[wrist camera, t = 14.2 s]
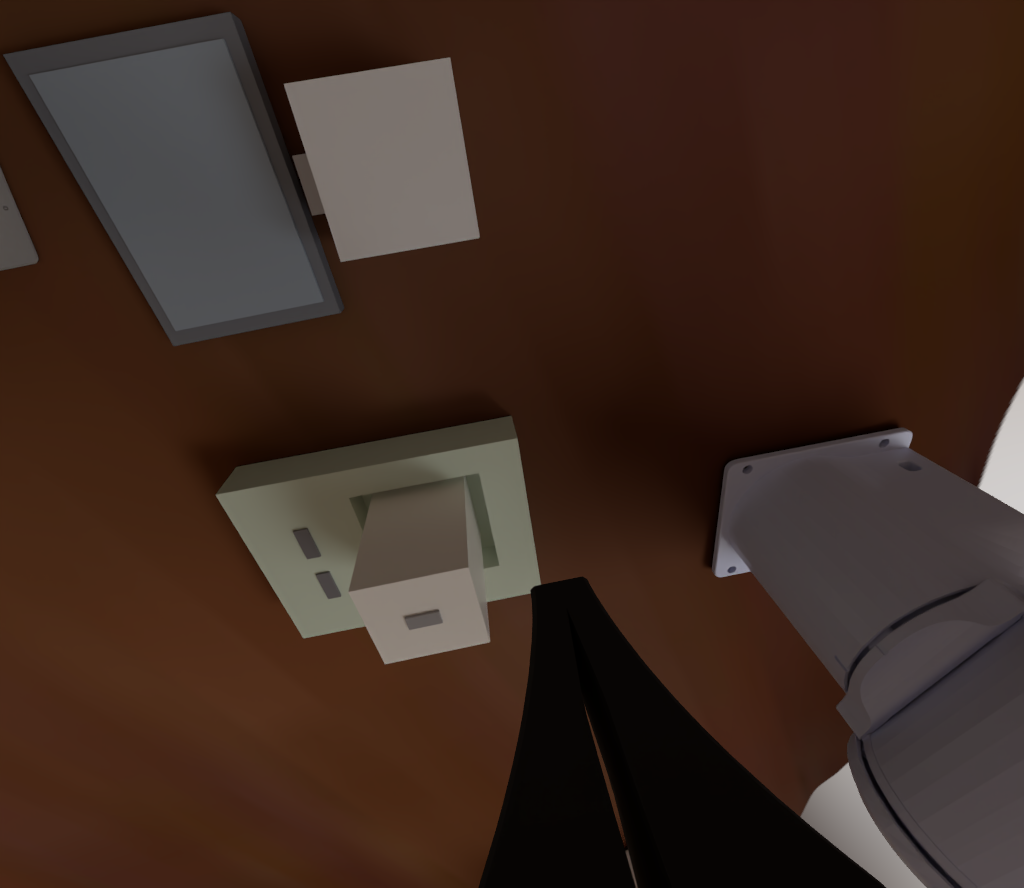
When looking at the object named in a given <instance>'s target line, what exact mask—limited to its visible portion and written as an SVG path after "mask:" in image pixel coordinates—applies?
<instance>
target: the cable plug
mask: <svg viewBox="0 0 1024 888" xmlns="http://www.w3.org/2000/svg"><path fill="white" fill-rule="evenodd" d="M284 87H285V90H286V93H287V96H288V99H289V102H290V105H291V108H292V112H293V115H294V118H295V121H296V124H297V127H298V130H299V133H300V136H301V140H302V143H303V146H304V149H305V152H306V154H300V155H294V156H292V157H293V160H294V163H295V166H296V169H297V172H298V175H299V178H300V181H301V184H302V187H303V190H304V193H305V196H306V199H307V202H308V205H309V208H310V211H311V214H312V216H313V215H319V214H326V217H327V220H328V224H329V227H330V230H331V233H332V236H333V239H334V242H335V245H336V248H337V252H338V255H339V258H340V261H341V262H344V261H349V260H355V259H361V258H367V257H373V256H378V255H384V254H390V253H396V252H402V251H407V250H413V249H419V248H425V247H431V246H436V245H442V244H448V243H454V242H460V241H465V240H471V239H477V238H480V235H479V229H478V223H477V217H476V211H475V205H474V199H473V193H472V187H471V181H470V175H469V169H468V163H467V157H466V151H465V145H464V139H463V133H462V127H461V121H460V114H459V108H458V102H457V96H456V90H455V84H454V78H453V72H452V66H451V60H450V57H449V58H443V59H437V60H431V61H424V62H418V63H412V64H405V65H399V66H393V67H387V68H380V69H374V70H368V71H361V72H355V73H349V74H343V75H336V76H330V77H324V78H317V79H311V80H305V81H299V82H292V83H286V84H284Z"/></svg>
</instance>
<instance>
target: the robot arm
mask: <svg viewBox="0 0 1024 888" xmlns="http://www.w3.org/2000/svg"><path fill="white" fill-rule="evenodd" d="M912 435H913V434H912V432H911V431H909V430H907V429H905V428H896V429H891V430H886V431H881V432H876V433H870V434H865V435H860V436H855V437H850V438H844V439H839V440H834V441H829V442H824V443H818V444H813V445H808V446H803V447H798V448H792V449H787V450H782V451H777V452H772V453H766V454H761V455H756V456H751V457H745V458H740V459H735V460H732V461H730V462H729V463H728V464H727V465H726V466H725V469H724V475H723V483H722V491H721V499H720V507H719V515H718V523H717V531H716V539H715V547H714V555H713V563H712V571H713V573H714V574H715V575H716V576H717V577H725V576H730V575H735V574H740V573H745V572H750V571H751V572H752V573H753V575H754V576H755V577H756V578H757V580H758V581H759V582H760V584H761V585H762V586H763V587H764V589H765V590H766V591H767V593H768V594H769V595H770V596H771V598H772V599H773V600H774V602H775V603H776V604H777V605H778V607H779V608H780V609H781V611H782V612H783V613H784V614H785V616H786V617H787V618H788V620H789V621H790V622H791V623H792V625H793V626H794V627H795V629H796V630H797V631H798V632H799V634H800V635H801V636H802V637H803V639H804V640H805V641H806V643H807V644H808V645H809V646H810V648H811V649H812V650H813V652H814V653H815V654H816V655H817V657H818V658H819V659H820V661H821V662H822V663H823V664H824V666H825V667H826V668H827V670H828V671H829V672H830V673H831V675H832V676H833V677H834V679H835V680H836V681H837V682H838V684H839V685H840V686H841V688H842V689H843V690H844V691H845V693H846V695H845V697H844V698H843V699H842V700H841V701H840V702H839V703H838V704H837V705H836V709H837V710H838V711H839V713H840V714H841V715H842V717H843V718H844V719H845V721H846V722H847V723H848V725H849V726H850V727H851V729H852V730H853V732H854V733H853V734H852V735H851V737H850V739H849V741H848V744H847V756H848V761H849V766H850V769H851V772H852V775H853V778H854V781H855V783H856V785H857V788H858V790H859V793H860V796H861V798H862V800H863V802H864V804H865V806H866V808H867V810H868V812H869V814H870V816H871V817H872V819H873V821H874V822H875V824H876V825H877V827H878V829H879V830H880V832H881V833H882V835H883V836H884V837H885V839H886V840H887V842H888V843H889V844H890V846H891V847H892V848H893V850H894V851H895V852H896V853H897V855H898V856H899V857H900V858H901V860H902V861H903V862H904V863H905V864H906V865H907V867H908V868H909V869H910V870H911V871H912V872H913V874H914V875H915V876H916V877H917V878H918V879H919V880H920V881H921V882H922V883H923V884H924V885H925V886H926V887H927V888H1024V514H1022V513H1020V512H1019V511H1017V510H1015V509H1014V508H1012V507H1010V506H1008V505H1007V504H1005V503H1003V502H1001V501H1000V500H998V499H996V498H994V497H993V496H991V495H989V494H988V493H986V492H984V491H982V490H981V489H979V488H977V487H975V486H974V485H972V484H970V483H968V482H967V481H965V480H963V479H961V478H960V477H958V476H956V475H955V474H953V473H951V472H949V471H948V470H946V469H944V468H942V467H941V466H939V465H937V464H935V463H934V462H932V461H930V460H928V459H927V458H925V457H923V456H922V455H920V454H918V453H916V452H915V451H913V450H911V449H909V445H910V442H911V439H912ZM746 466H747V467H746ZM744 467H746V468H745V469H743V468H744ZM530 592H531V598H532V614H533V624H532V645H531V656H530V667H529V676H528V683H527V690H526V696H525V703H524V710H523V716H522V721H521V727H520V732H519V737H518V742H517V747H516V751H515V756H514V761H513V765H512V769H511V774H510V778H509V782H508V786H507V790H506V794H505V798H504V802H503V806H502V810H501V813H500V817H499V821H498V824H497V828H496V831H495V835H494V838H493V841H492V845H491V848H490V851H489V855H488V858H487V861H486V865H485V868H484V871H483V875H482V878H481V881H480V885H479V888H636V886H635V883H634V879H633V876H632V872H631V869H630V866H629V862H628V859H627V855H626V852H625V848H624V845H623V842H622V838H621V835H620V831H619V828H618V825H617V821H616V818H615V814H614V811H613V807H612V804H611V800H610V797H609V793H608V790H607V786H606V783H605V779H604V776H603V772H602V769H601V765H600V762H599V758H598V755H597V751H596V747H595V744H594V740H593V737H592V733H591V729H590V726H589V722H588V719H587V715H586V711H585V707H586V710H587V713H588V716H589V719H590V722H591V725H592V728H593V731H594V734H595V737H596V740H597V743H598V746H599V749H600V752H601V755H602V758H603V761H604V764H605V767H606V770H607V773H608V776H609V779H610V783H611V786H612V790H613V793H614V796H615V800H616V804H617V808H618V812H619V816H620V820H621V824H622V828H623V832H624V836H625V839H626V843H627V847H628V851H629V855H630V859H631V863H632V867H633V871H634V875H635V879H636V883H637V887H638V888H886V887H885V886H884V885H883V884H882V883H880V882H879V881H878V880H877V879H875V878H874V877H873V876H872V875H871V874H869V873H868V872H867V871H866V870H864V869H863V868H862V867H860V866H859V865H858V864H857V863H855V862H854V861H853V860H852V859H850V858H849V857H848V856H847V855H845V854H844V853H843V852H842V851H840V850H839V849H838V848H836V847H835V846H834V845H833V844H832V843H831V842H829V841H828V840H827V839H826V838H824V837H823V836H822V835H820V833H818V832H817V831H816V830H815V829H814V828H812V827H811V826H810V825H809V824H807V823H806V822H805V821H804V820H803V819H802V818H801V817H799V816H798V815H797V814H796V813H795V812H794V811H792V810H791V809H790V808H789V807H788V806H787V805H785V804H784V803H783V802H782V801H781V800H780V799H778V798H777V797H776V796H775V795H774V794H773V793H772V792H771V791H770V790H769V789H767V788H766V787H765V786H764V785H763V784H762V783H761V782H760V781H759V780H758V779H756V778H755V777H754V776H753V775H752V774H751V773H750V772H749V771H748V770H747V769H746V768H744V767H743V766H742V765H741V764H740V763H739V762H738V761H737V760H736V759H735V758H734V757H732V756H731V755H730V754H729V753H728V752H727V751H726V750H725V749H724V748H723V747H722V746H721V745H720V744H719V743H718V742H717V741H716V740H715V739H714V738H713V737H712V736H711V735H710V734H709V733H708V732H707V731H706V730H705V729H704V728H703V727H702V726H701V725H700V724H699V723H698V722H697V721H696V720H695V719H694V718H693V717H692V716H691V715H690V714H689V712H688V711H687V710H686V709H685V708H684V707H683V706H682V705H681V704H680V703H679V702H678V701H677V700H676V698H675V697H674V696H673V695H672V694H671V693H670V692H669V691H668V690H667V688H666V687H665V686H664V685H663V684H662V683H661V681H660V680H659V679H658V678H657V677H656V676H655V674H654V673H653V672H652V671H651V670H650V669H649V667H648V666H647V665H646V664H645V662H644V661H643V660H642V659H641V658H640V656H639V655H638V654H637V652H636V651H635V650H634V649H633V647H632V646H631V645H630V643H629V642H628V641H627V639H626V638H625V637H624V636H623V634H622V633H621V632H620V630H619V629H618V627H617V626H616V625H615V623H614V622H613V620H612V619H611V618H610V616H609V615H608V613H607V612H606V610H605V609H604V607H603V606H602V604H601V603H600V601H599V599H598V598H597V596H596V595H595V593H594V591H593V589H592V588H591V586H590V584H589V582H588V580H587V579H586V578H584V577H578V578H573V579H568V580H563V581H558V582H553V583H548V584H543V585H538V586H534V587H533V588H532V589H531V590H530ZM583 701H584V702H583ZM584 704H585V706H584Z"/></svg>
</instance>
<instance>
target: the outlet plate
mask: <svg viewBox="0 0 1024 888" xmlns="http://www.w3.org/2000/svg"><path fill="white" fill-rule="evenodd" d="M461 476H466V480H467V484H468V488H469V491H470V495H471V499H472V503H473V507H474V511H475V515H476V519H477V522H478V526H479V530H480V534H481V545H482V556H483V567H484V578H485V589H486V600H487V602H489V601H494V600H499V599H504V598H509V597H514V596H519V595H524V594H529V593H531V592H530V590H531V589H532V588H533V587H534V586H538V585H541V582H540V576H539V570H538V564H537V557H536V551H535V545H534V539H533V532H532V526H531V520H530V514H529V507H528V501H527V495H526V488H525V482H524V476H523V470H522V463H521V457H520V451H519V445H518V438H517V435H516V431H515V427H514V423H513V420H512V416H508V417H502V418H497V419H491V420H486V421H481V422H475V423H470V424H465V425H459V426H454V427H448V428H443V429H438V430H432V431H427V432H422V433H416V434H411V435H405V436H400V437H395V438H389V439H384V440H378V441H373V442H368V443H362V444H357V445H352V446H346V447H341V448H335V449H330V450H325V451H319V452H314V453H309V454H303V455H298V456H292V457H287V458H282V459H276V460H271V461H265V462H260V463H255V464H249V465H244V466H239V467H236V468H235V469H234V471H233V472H232V473H231V475H230V476H229V477H228V479H227V480H226V481H225V483H224V484H223V485H222V487H221V488H220V489H219V491H218V492H217V493H216V497H217V498H218V500H219V502H220V503H221V505H222V507H223V508H224V510H225V511H226V513H227V515H228V516H229V518H230V520H231V521H232V523H233V524H234V526H235V528H236V529H237V531H238V533H239V534H240V536H241V537H242V539H243V541H244V542H245V544H246V546H247V547H248V549H249V550H250V552H251V554H252V555H253V557H254V559H255V560H256V562H257V563H258V565H259V567H260V568H261V570H262V572H263V573H264V575H265V576H266V578H267V580H268V581H269V583H270V585H271V586H272V588H273V589H274V591H275V593H276V594H277V596H278V598H279V599H280V601H281V602H282V604H283V606H284V607H285V609H286V611H287V612H288V614H289V615H290V617H291V619H292V620H293V622H294V624H295V625H296V627H297V628H298V630H299V632H300V633H301V635H302V637H303V638H308V637H313V636H318V635H323V634H328V633H333V632H338V631H343V630H348V629H353V628H358V627H363V626H365V624H364V622H363V620H362V618H361V616H360V614H359V612H358V610H357V608H356V606H355V604H354V602H353V600H352V599H351V597H350V595H349V593H348V591H349V587H350V583H351V579H352V575H353V571H354V566H355V562H356V558H357V554H358V550H359V546H360V542H361V538H362V534H363V530H364V526H365V522H366V518H367V514H368V510H369V505H370V501H371V497H372V493H377V492H382V491H387V490H392V489H398V488H403V487H408V486H414V485H419V484H424V483H429V482H435V481H440V480H445V479H451V478H456V477H461Z"/></svg>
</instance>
